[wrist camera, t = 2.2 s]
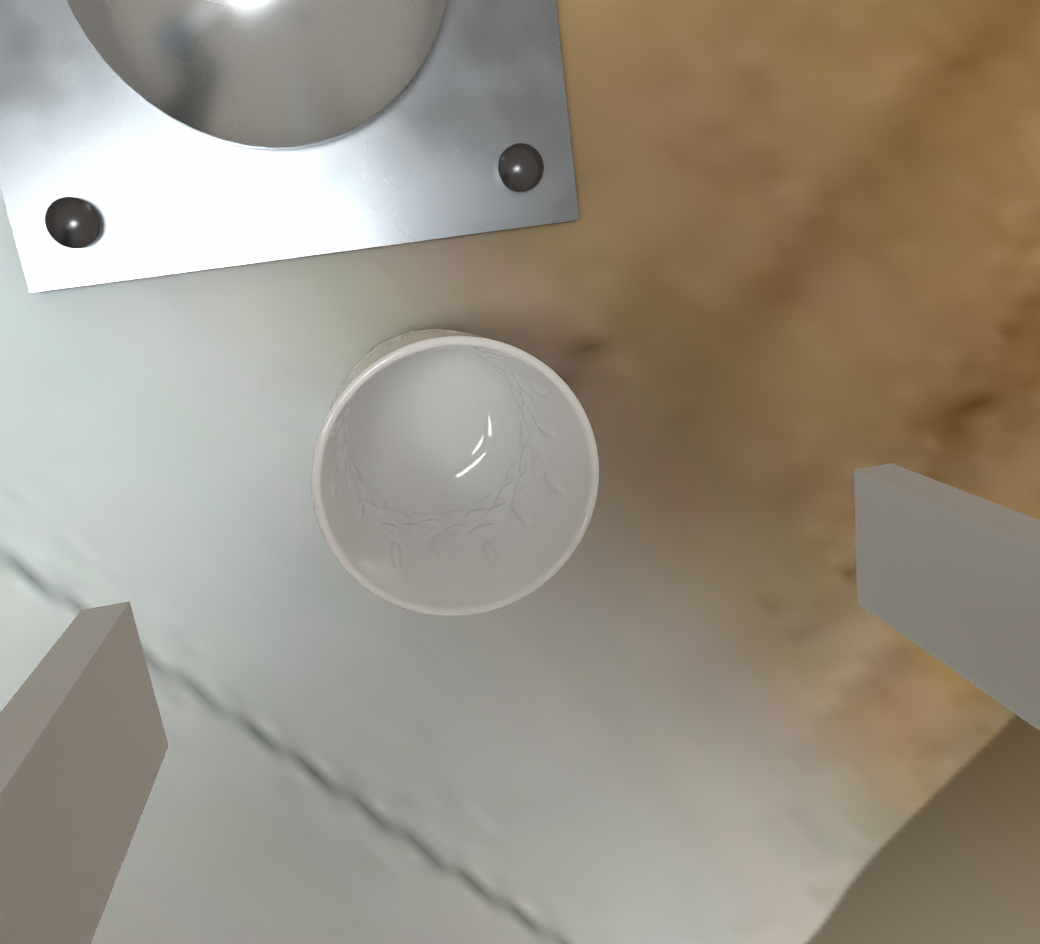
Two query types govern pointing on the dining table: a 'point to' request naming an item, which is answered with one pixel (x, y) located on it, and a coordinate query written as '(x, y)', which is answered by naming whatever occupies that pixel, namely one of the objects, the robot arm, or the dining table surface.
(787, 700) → the dining table surface
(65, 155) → the panel
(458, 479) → the white cup
